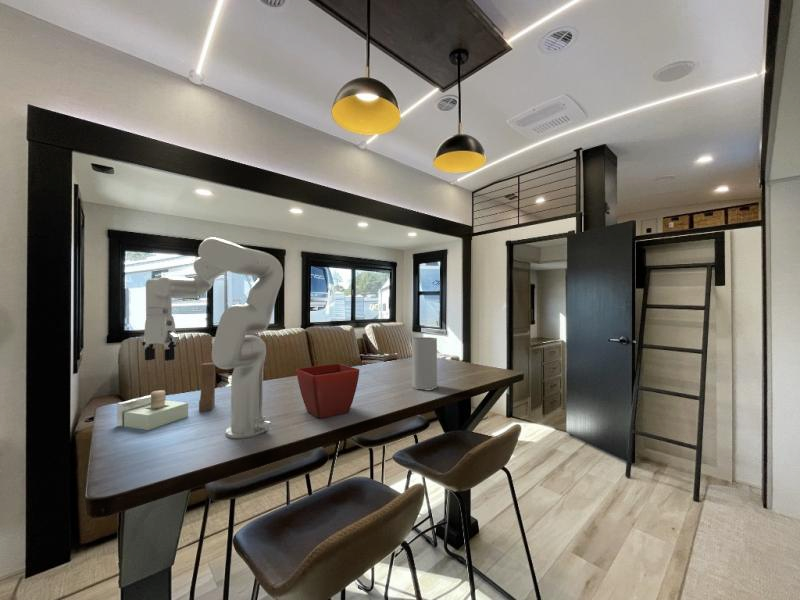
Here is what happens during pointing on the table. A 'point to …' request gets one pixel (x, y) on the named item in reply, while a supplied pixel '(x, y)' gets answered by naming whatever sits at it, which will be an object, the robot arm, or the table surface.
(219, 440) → the table surface
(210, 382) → the wooden block
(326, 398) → the plant pot
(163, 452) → the table surface
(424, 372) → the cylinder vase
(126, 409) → the backstop board
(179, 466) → the table surface
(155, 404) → the wooden dowel
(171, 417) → the socket block
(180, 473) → the table surface
